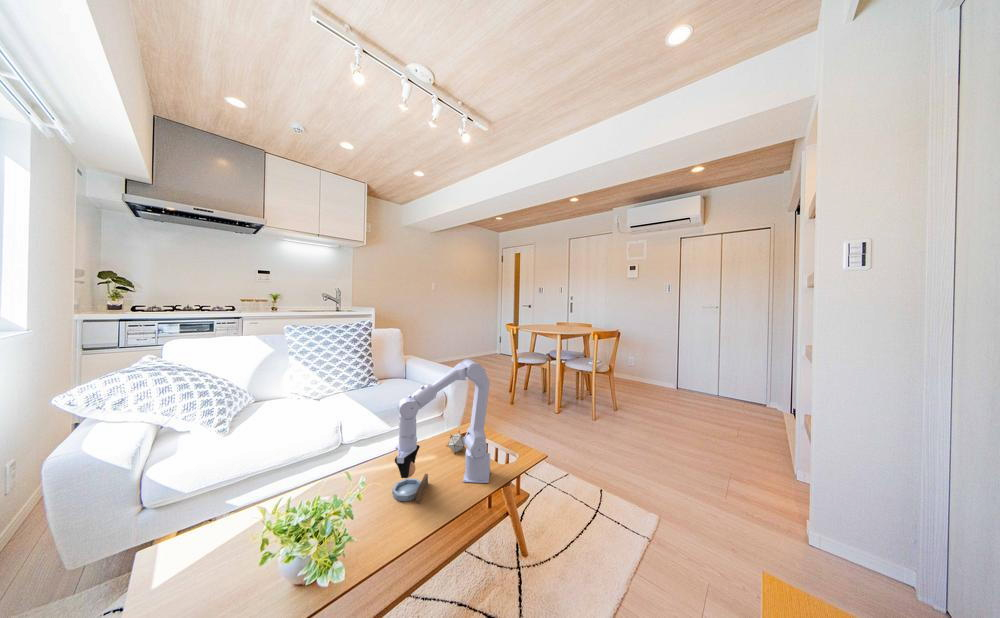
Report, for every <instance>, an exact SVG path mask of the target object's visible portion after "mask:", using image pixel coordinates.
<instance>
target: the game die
mask: <svg viewBox="0 0 1000 618" xmlns="http://www.w3.org/2000/svg"><path fill="white" fill-rule="evenodd" d="M464 437H465V436H464V435H463V434H461V432H460V430H458V432H457V433H455V434H450V436H449V441H448V444H447V445H446V446H445V447H446V448H447V447H448V448H450V449H451V450H452V452H453V453H454V455H456V454H457V453H458V452H459V451H460V452H461V451H464V450H465V449H466V447H465V446H466V445H465V444H464Z"/></svg>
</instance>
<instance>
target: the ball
mask: <svg viewBox="0 0 1000 618" xmlns="http://www.w3.org/2000/svg"><path fill="white" fill-rule="evenodd" d="M415 472H416V464H414V463H413V462H412V461H411V464H410V469H409V475H408V478H411V477H413V475H414V474H415Z"/></svg>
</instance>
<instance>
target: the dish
mask: <svg viewBox="0 0 1000 618" xmlns="http://www.w3.org/2000/svg"><path fill="white" fill-rule="evenodd" d="M420 483H421V481H420V480H419V479H418V478H411V477H409V478H403V479H402V480H400V481H397V482H396V483H395V484H394V486H393V488H392V491H391V492H392V495H393V496H392V497H393V499H394V500H396V501H398V502H402V503H403V502H405V503H406V502H411V501H414V500H416V491H417V489H418V487H419V485H420Z"/></svg>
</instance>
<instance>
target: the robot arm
mask: <svg viewBox="0 0 1000 618" xmlns="http://www.w3.org/2000/svg"><path fill="white" fill-rule="evenodd" d="M467 379H468V380H470V381H471V382H472V383H473V384H474V391H473V392H474V394H473V402H472V407H471V415H470V416H471V418H470V425H469V426H468V428H467V430H466V434H465V436H463V437H464V444H465V445H464V446H466V448H465V449H466V450H465V454H464V455H465V456H464V457H465V458H464V459H465V463H464V464H465V467H464V469H465V471H464V474H463V479H462V483H475V484H476V483H478V484H489V482H490V474H491V453H489V452H487V450H488V445H487V441H486V440H487V439H486V438H487V436H486V433H485V425H486V424H485V423H486V415H487V408H488V407H487V406H488V400H489V399H488V398H489V391H490V379H489V377H488V375H487V372H486V369H485V368H484V367H483V365H481V364H479V363H477V362H475V361H474V360H473V359H471V358H465V359H463V360H462V361H461V362H459V363H457V364H456V365H455V366H453V368H451V369H450V370H449V371H448V372H446V373H445V374H444V375H443V376H440V377H439V379H437V380H436V381H435V382H434V383H432V384H428V383H426V384H425V385H424V384H422V385H420V387H419V389H417V390H416V391H414V392H413V393H412V394H411V393H409V394H408V395H407V397H404V398H402V399H401V400H400V401H399V402H398V405H397V409H398V412H399V415H398V419H399V421H398V444H397V445H395V448H394V449H395V450H397V451H398V452H397V455H396V456H395V458H394V464H395V465H396V466H397V468H398V472H399V474H400V478H401V479H407V478H408V475H409V469H410V464H411V461H412V462H413V463H414V464H415V463H416V458H417V455H418V452H419V449H420V447H421V446H420V445H418V436H417V415H418V412H419V410H421V409H423V408H424V407H425V406H427V404H430V402H432V401H433V400H434V399H436V398H437V394H438V393H439V392H440V391H442V390H444V389H445V388H446V387H448V386H449V385H451V384H452V383H455V381H467ZM415 465H416V464H415Z"/></svg>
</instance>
